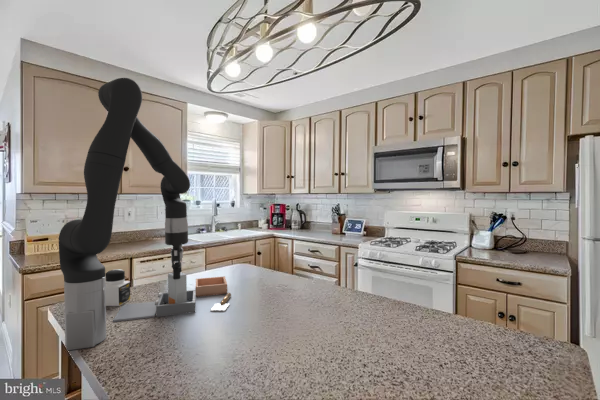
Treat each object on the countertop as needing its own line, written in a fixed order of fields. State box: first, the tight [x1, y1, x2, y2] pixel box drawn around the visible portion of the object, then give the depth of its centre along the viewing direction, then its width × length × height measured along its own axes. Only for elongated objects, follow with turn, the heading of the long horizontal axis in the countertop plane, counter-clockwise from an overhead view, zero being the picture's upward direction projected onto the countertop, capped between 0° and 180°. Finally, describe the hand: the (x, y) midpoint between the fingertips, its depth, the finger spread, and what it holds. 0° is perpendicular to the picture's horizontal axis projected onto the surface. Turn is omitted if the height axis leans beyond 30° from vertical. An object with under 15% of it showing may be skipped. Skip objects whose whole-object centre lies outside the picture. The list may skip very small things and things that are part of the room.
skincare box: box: [167, 271, 188, 304], centre depth 109 cm, size 6×4×12 cm
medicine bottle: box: [105, 268, 131, 307], centre depth 113 cm, size 7×7×12 cm
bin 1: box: [112, 289, 197, 323], centre depth 107 cm, size 14×24×4 cm, turn 108°
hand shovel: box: [209, 292, 232, 313], centre depth 112 cm, size 15×5×2 cm, turn 178°
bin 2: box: [195, 276, 228, 298], centre depth 127 cm, size 12×12×4 cm
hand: (177, 275), depth 109 cm, fingers open, 8 cm apart
